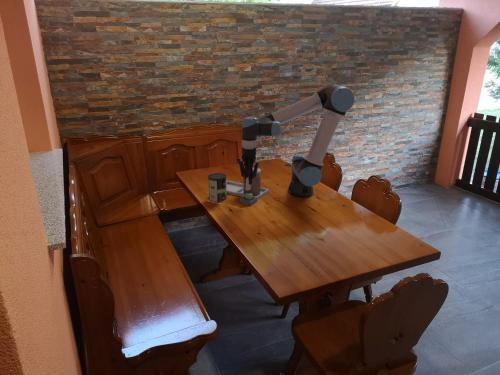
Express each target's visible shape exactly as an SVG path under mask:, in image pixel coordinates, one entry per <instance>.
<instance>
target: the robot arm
mask: <svg viewBox="0 0 500 375" xmlns="http://www.w3.org/2000/svg"><path fill="white" fill-rule="evenodd" d="M354 104H355V94H354V92H353V90H351V89H350V88H349V87H346V86H344V85H339V84H336V83H335V84H331V85H328V86H325V87H323V88H321V89H319V90H317V91H315V92H314V93H313V94H312V95H311V96H308V97H305V98H304V99H301V100H299V101H297V102H294V103H292V104H289V105H288V106H286V107H283V108H280V109H278V110H277V111H274V112H272V113H270V114H267V115H262V116H259V117H258V118H257V117H255V116H246V117H243V118H242V126H241V157H239V158H238V159H237V162H238V165H239V170H240V175H241V177H242V178H243V177H244V178H245V184H246V190H247V191H248V190H250V189H251V184H252V179H253V178H255V177H256V173H257V170H258V168H259V165H260V164H261V161H260V160H258V159H257V156H256V155H257V138H258V137H279V136H280V134H281V125H283V124H285V123H287V122H291V121H292V120H295V119H297V118H299V117H302V116H304V115H305V114H309V113H310V112H313V111H315V110H317V109H320V110H323V112H324V114H323V116H322V118H321V120H320V123H319V126H318V128H317V130H316V133H315V136H314V138H313V140H312V142H311V145H310V147H309V150H308V151H307V152H308V153H307V154H305V153H299V154H294V155H293V156H292V157H291V158H292V159H291V177H290V178H291V179H290V182H289V184H288V187H287V191H288V193H289V194H290V195H291V196H294V197H297V198H306V197H307V198H308V197H311V196H313V194H314V192H315V191H314V190H315V189H314V186H317V185H318V184H319V183H320V182H321V180H322V177H323V174H322V170H323V168H324V166H325V164H324V161H323V160H324V158H325V156H326V153H327V151H328V148H329V146H330V144H331V141H332V139H333V136H334V134H335V133H336V129H337V127H338V126H339V123H340V120H341V118H345V116H346V114H347V112H348V111H349V110H350V109H351V108H352V107H353V105H354ZM253 168H254V169H253Z"/></svg>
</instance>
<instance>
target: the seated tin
mask: <svg viewBox="0 0 500 375" xmlns="http://www.w3.org/2000/svg"><path fill="white" fill-rule="evenodd" d="M253 169H254V167H253ZM261 179H262V170H261V168H259V167H258V170H257V173H256V177H255V178H253V179H252V184H251V189H250V190H248V191H247V190H246V184H245V178H244V177H242V184H243V194H246V193H252V194H253V196H258V195H259V194H260V189H261V188H262V187H261V184H262V182H261Z"/></svg>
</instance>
